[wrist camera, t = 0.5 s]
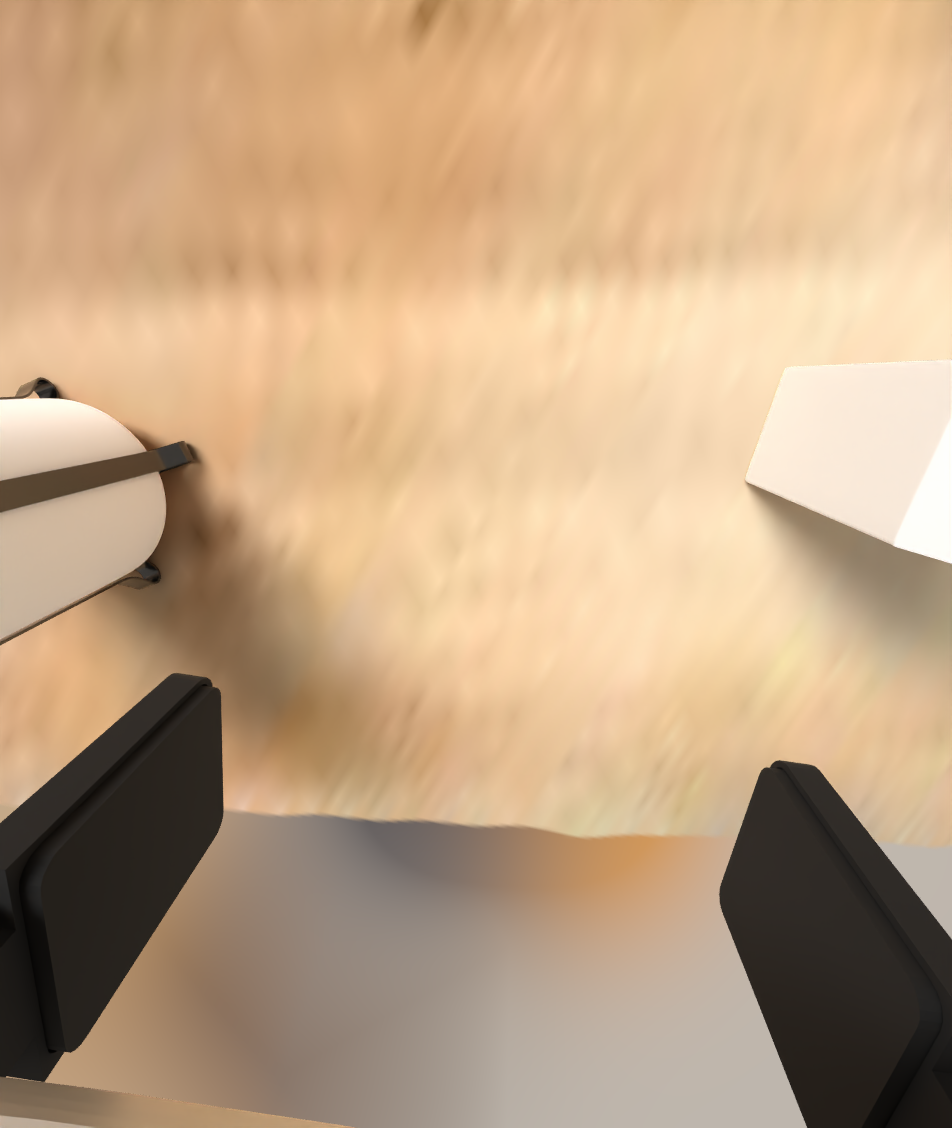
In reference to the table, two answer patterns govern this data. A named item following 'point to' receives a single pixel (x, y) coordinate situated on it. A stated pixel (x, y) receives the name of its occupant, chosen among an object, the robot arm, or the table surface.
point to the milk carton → (865, 449)
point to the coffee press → (73, 505)
